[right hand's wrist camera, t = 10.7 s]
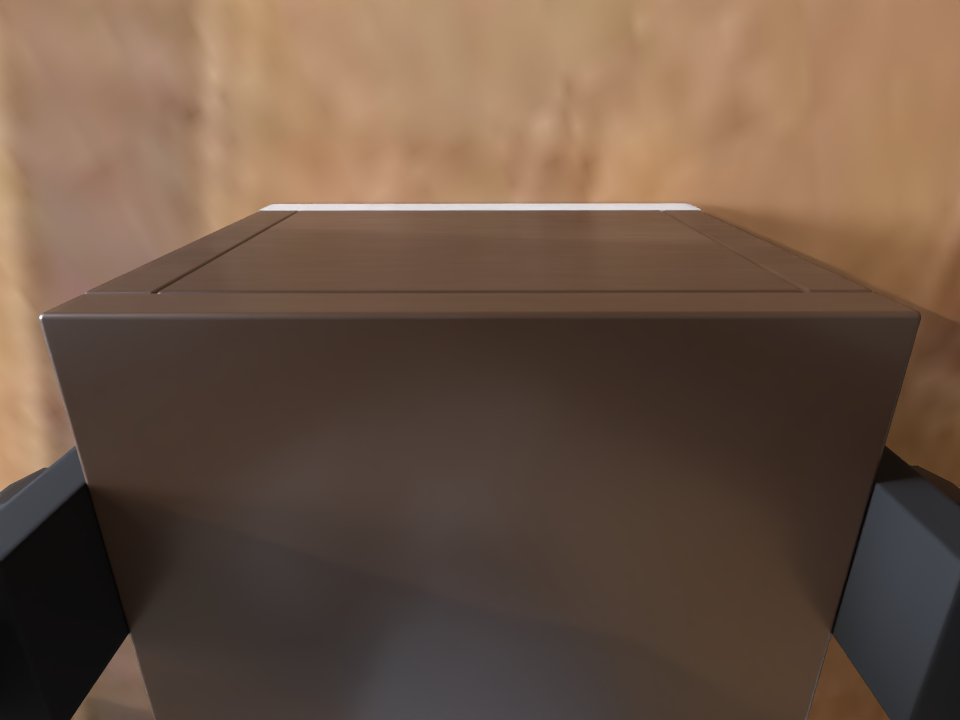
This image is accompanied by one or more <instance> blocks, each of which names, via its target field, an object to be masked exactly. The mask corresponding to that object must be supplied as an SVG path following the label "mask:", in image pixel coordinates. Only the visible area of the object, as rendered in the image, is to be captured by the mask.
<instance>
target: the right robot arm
mask: <svg viewBox="0 0 960 720" xmlns="http://www.w3.org/2000/svg"><path fill="white" fill-rule="evenodd" d="M128 634H129V631H128V627H127V624H126V620H125V617H124V613H123V610H122V606H121V603H120V599H119V596H118V592H117V589H116V585H115V582H114V578H113V575H112V571H111V568H110V564H109V561H108V557H107V554H106V550H105V547H104V543H103V540H102V537H101V533H100V530H99V526H98V523H97V519H96V516H95V512H94V509H93V505H92V502H91V498H90V495H89V491H88V488H87V484H86V481H85V477H84V474H83V470H82V467H81V463H80V460H79V456H78V453H77V449H76V446H75V447H73V448H72V449H71V450H70V451H68V452H67V453H66V454H65V455H63V456H62V457H61V458H60V459H59V460H57V461H56V462H55V463H54V464H52V465H51V466H50V467H49V468H42V469H41V470H39V471H37V472H35V473H33V474H31V475H29V476H27V477H25V478H23V479H21V480H19V481H17V482H15V483H13V484H11V485H9V486H8V487H6V488H5V489H4V490H3V491H1V492H0V720H70V719H71V718H72V716H73V715H74V713H75V712H76V710H77V709H78V707H79V706H80V705H81V703H82V702H83V700H84V699H85V697H86V696H87V694H88V693H89V691H90V690H91V688H92V687H93V685H94V684H95V682H96V681H97V679H98V678H99V677H100V675H101V674H102V672H103V671H104V669H105V668H106V666H107V665H108V663H109V662H110V660H111V659H112V657H113V656H114V654H115V653H116V651H117V650H118V648H119V647H120V646H121V644H122V643H123V641H124V640H125V638H126V637H127V635H128ZM832 634H833V636H834V637H835V639H836V640H837V642H838V643H839V645H840V646H841V648H842V649H843V651H844V652H845V653H846V655H847V656H848V658H849V659H850V661H851V662H852V664H853V665H854V667H855V668H856V670H857V671H858V673H859V674H860V676H861V677H862V679H863V680H864V681H865V683H866V684H867V686H868V687H869V689H870V690H871V692H872V693H873V695H874V696H875V698H876V699H877V701H878V702H879V704H880V705H881V707H882V708H883V709H884V711H885V712H886V714H887V715H888V717H889V718H890V720H960V489H959V488H958V487H957V486H955V485H954V484H953V483H951V482H949V481H947V480H945V479H943V478H941V477H939V476H937V475H935V474H933V473H931V472H929V471H927V470H925V469H923V468H921V467H919V466H909V465H908V464H907V463H906V462H905V461H903V460H902V459H901V458H900V457H898V456H897V455H896V454H895V453H894V452H892V451H891V450H890V449H889V448H887V447H886V446H885V447H884V450H883V454H882V457H881V461H880V464H879V468H878V471H877V475H876V478H875V482H874V485H873V489H872V493H871V496H870V500H869V503H868V507H867V510H866V514H865V517H864V521H863V524H862V528H861V531H860V535H859V538H858V542H857V545H856V549H855V552H854V556H853V559H852V563H851V567H850V570H849V574H848V577H847V581H846V584H845V588H844V591H843V595H842V598H841V602H840V605H839V609H838V612H837V616H836V619H835V623H834V626H833V630H832Z"/></svg>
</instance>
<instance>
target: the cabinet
mask: <svg viewBox="0 0 960 720" xmlns="http://www.w3.org/2000/svg"><path fill="white" fill-rule="evenodd" d="M39 320H40V324H41V327H42V331H43V334H44V338H45V341H46V345H47V348H48V352H49V355H50V359H51V362H52V366H53V369H54V373H55V376H56V380H57V383H58V387H59V390H60V394H61V397H62V401H63V404H64V408H65V411H66V415H67V418H68V421H69V425H70V428H71V432H72V435H73V439H74V442H75V446H76V449H77V453H78V456H79V460H80V463H81V467H82V470H83V474H84V477H85V481H86V484H87V488H88V491H89V495H90V498H91V502H92V505H93V509H94V512H95V516H96V519H97V523H98V526H99V530H100V533H101V537H102V540H103V543H104V547H105V550H106V554H107V557H108V561H109V564H110V568H111V571H112V575H113V578H114V582H115V585H116V589H117V592H118V596H119V599H120V603H121V606H122V610H123V613H124V617H125V620H126V624H127V627H128V631H129V634H130V638H131V641H132V645H133V648H134V652H135V655H136V659H137V662H138V666H139V669H140V672H141V676H142V679H143V683H144V686H145V690H146V693H147V697H148V700H149V704H150V707H151V711H152V714H153V718H154V720H807V718H808V715H809V711H810V707H811V704H812V700H813V697H814V693H815V690H816V686H817V683H818V679H819V676H820V672H821V669H822V665H823V662H824V658H825V655H826V651H827V648H828V644H829V641H830V637H831V633H832V630H833V626H834V623H835V619H836V616H837V612H838V609H839V605H840V602H841V598H842V595H843V591H844V588H845V584H846V581H847V577H848V574H849V570H850V567H851V563H852V559H853V556H854V552H855V549H856V545H857V542H858V538H859V535H860V531H861V528H862V524H863V521H864V517H865V514H866V510H867V507H868V503H869V500H870V496H871V493H872V489H873V485H874V482H875V478H876V475H877V471H878V468H879V464H880V461H881V457H882V454H883V450H884V447H885V443H886V440H887V436H888V433H889V429H890V426H891V422H892V419H893V415H894V411H895V408H896V404H897V401H898V397H899V394H900V390H901V387H902V383H903V380H904V376H905V373H906V369H907V366H908V362H909V359H910V355H911V352H912V348H913V345H914V341H915V337H916V334H917V330H918V327H919V323H920V320H921V315H920V313H919V312H917V311H915V310H913V309H910V308H908V307H906V306H904V305H902V304H900V303H897V302H895V301H893V300H891V299H889V298H887V297H885V296H882V295H880V294H878V293H876V292H872V291H871V290H869V289H867V288H864V287H862V286H860V285H858V284H856V283H854V282H851V281H849V280H847V279H845V278H843V277H841V276H839V275H836V274H834V273H832V272H830V271H828V270H826V269H824V268H821V267H819V266H817V265H815V264H813V263H811V262H809V261H806V260H804V259H802V258H800V257H798V256H796V255H793V254H791V253H789V252H787V251H785V250H783V249H781V248H778V247H776V246H774V245H772V244H770V243H768V242H766V241H763V240H761V239H759V238H757V237H755V236H753V235H751V234H748V233H746V232H744V231H742V230H740V229H738V228H735V227H733V226H731V225H729V224H727V223H725V222H723V221H720V220H718V219H716V218H714V217H712V216H710V215H708V214H705V213H703V212H701V209H699V208H697V207H695V206H693V205H690V204H271V205H269V206H267V207H264V208H262V209H260V210H259V212H257V213H254V214H252V215H250V216H248V217H246V218H244V219H241V220H239V221H237V222H235V223H233V224H231V225H229V226H226V227H224V228H222V229H220V230H218V231H216V232H214V233H211V234H209V235H207V236H205V237H203V238H201V239H199V240H196V241H194V242H192V243H190V244H188V245H186V246H184V247H181V248H179V249H177V250H175V251H173V252H171V253H168V254H166V255H164V256H162V257H160V258H158V259H156V260H153V261H151V262H149V263H147V264H145V265H143V266H141V267H138V268H136V269H134V270H132V271H130V272H128V273H126V274H123V275H121V276H119V277H117V278H115V279H113V280H110V281H108V282H106V283H104V284H102V285H100V286H98V287H95V288H93V289H91V290H89V291H87V292H86V293H85V294H82V295H80V296H78V297H76V298H74V299H72V300H70V301H67V302H65V303H63V304H61V305H59V306H57V307H55V308H52V309H50V310H48V311H46V312H44V313H42V314H41V315H40V318H39Z"/></svg>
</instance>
